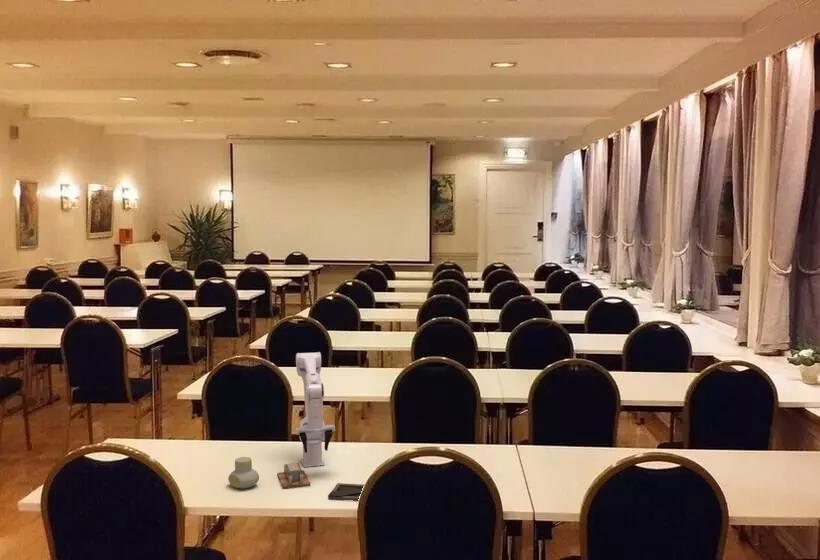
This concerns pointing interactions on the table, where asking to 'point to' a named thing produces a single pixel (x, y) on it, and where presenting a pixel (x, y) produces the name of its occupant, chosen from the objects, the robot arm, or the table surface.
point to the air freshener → (243, 474)
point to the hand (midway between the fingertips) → (315, 451)
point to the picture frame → (346, 492)
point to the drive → (293, 472)
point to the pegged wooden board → (285, 485)
